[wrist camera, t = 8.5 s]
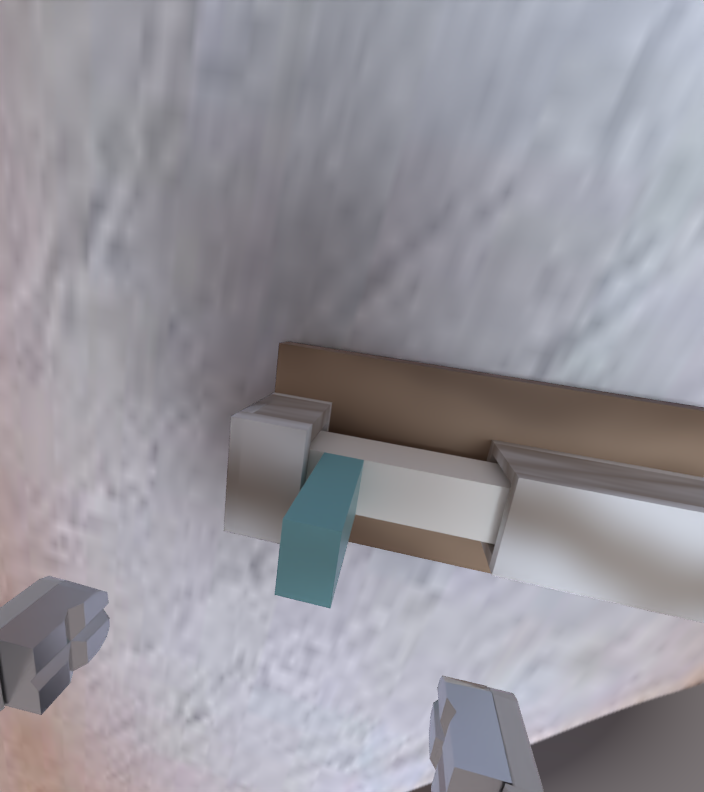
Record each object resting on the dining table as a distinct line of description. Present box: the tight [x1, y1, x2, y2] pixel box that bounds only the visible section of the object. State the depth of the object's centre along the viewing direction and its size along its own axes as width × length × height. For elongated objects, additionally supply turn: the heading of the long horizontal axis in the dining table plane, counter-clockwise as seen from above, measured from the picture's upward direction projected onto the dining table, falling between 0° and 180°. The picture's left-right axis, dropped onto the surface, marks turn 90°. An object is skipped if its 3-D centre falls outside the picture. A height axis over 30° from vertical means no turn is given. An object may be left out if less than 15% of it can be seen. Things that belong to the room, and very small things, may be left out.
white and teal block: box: [275, 431, 511, 608], centre depth 16 cm, size 3×16×9 cm, turn 82°
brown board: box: [224, 342, 704, 623], centre depth 19 cm, size 12×24×7 cm, turn 82°
